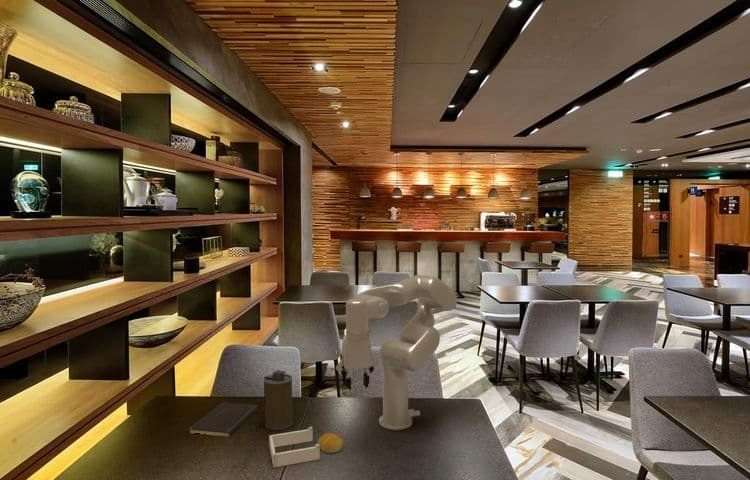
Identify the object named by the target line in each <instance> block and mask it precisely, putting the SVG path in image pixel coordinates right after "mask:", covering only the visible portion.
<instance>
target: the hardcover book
mask: <svg viewBox="0 0 750 480" xmlns="http://www.w3.org/2000/svg"><path fill="white" fill-rule="evenodd" d="M258 410H259V406H258V405H257V404H245V403H244V404H243V403H233V402H231V403H230V402H221V403H220V404H218V405H217V406H216V407H215V408H213V409H212V410H211V411H210V412H209V413H207V414H206V415H205V416H202V418H201V419H199V420H198V421H197V422H195V423H194V424H193V425H191V426H190V427H189V428H188V430H189V433H190V434H194V433H200V434H199V435H204V434H206V436H207V435H208V436H216V437H227V438H230V437H231V436H233V435H234V434H235V432H237V431H238V430H239V428H241V427H242V426H243V425H244V424H245V423H247V421H248V420H249V419H250V418H251V417H252V416H253V415H254V414H255V413H256V412H258Z"/></svg>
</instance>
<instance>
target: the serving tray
mask: <svg viewBox="0 0 750 480" xmlns="http://www.w3.org/2000/svg"><path fill="white" fill-rule="evenodd" d="M313 433H314V430H313V426H309V427H308V428H306V429H302V430H295V431H290V432H289V431H288V432H284V433H277V434H271V435H270V434H269V440H268V441H269V450H270V451H269V452H270V456H271V462H272V468H279V467H284V466H290V465H294V464H301V463H306V462H312V461H313V462H314V461H317V460H320V459H321V456H320V454H321V453H320V450H321V449H320V445H319V444H317V443H316V444H314V446H311V447H310V446H309V447H304V448H299V449H293V450H288V451H287V450H286V451H282V452H276V449H275V448H279V447H285V446H291V445H297V444H304V443H308V442H313V441H314V439H313V437H314V436H313Z"/></svg>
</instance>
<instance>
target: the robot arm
mask: <svg viewBox="0 0 750 480" xmlns="http://www.w3.org/2000/svg"><path fill="white" fill-rule="evenodd" d="M416 299H417V310H416V314H415V315H414V316H413V317H412V318H411V319H410V320H409V322H407V324H406V325H404V326H403V328H402V329H401V331H400V332H399V334H398V335H399V336H398V338H399V339H395V338H390V339H386V340H385V341H384V342H382V344H381V347H380V348H379V349H380V350H379V356H380V357H379V358H380V362H381V369H382V414H381V416H380V417H379V418H378V424H379V425H380V427H382V428H384V429H386V430H390V431H401V430H405V429H409V428H410V427H411V426H412V425H413V417H420V416H421V412H420V410H415V409H414V408H411V409H409V376H408V372H417V371H419V370H420V369H422V367H423V366H424V365H425V364H426V363H427V361H428V360H429V359H430V358H431V356H433V354H434V353H435V352H436V351H437V349H438V348H439V345H440V341H441V340H440V339H441V337H440V333H439V330H437V328H435V323H436V322H435V316H434V310H439V311H443V312H451V311H453V310H454V309H455V308H456V306H457V305H458V297H457V294H456V292H455V291H454V290H453V289H452V288H451V287H449V286H448V285H447V284H446V283H445V282H444V281H443V280H441V279H440V278H438V277H435V276H431V275H429V276H428V275H422V274H421V275H419V274H415V275H413V276H410V277H408V278H405V279H404V280H400V281H399V282H396V283H393V284H386V285H383V286H377V287H372V288H369V289H366V290H363V291H362V292H360V293H357V294H356V295H354V297H353V298H350V299H347V300H346V303H345V338H343V340H342V341H343V342H342V348H341V360H340V361H339V362H338V364H337V365H336V366H335V370H336V371H337V372H339V373H340V374H341V375H343V376H344V377H345V378H344V379H345V381H344V382H345V384H344V385H345V387H346V388H347V390H349V391H350V390H352V378H351V373H352V370H360V369H361V370H362V369H363V371H364V373H363V375H362V376H363V377H362V379H363V386H364V387H365V388H369V384H370V376H371V374H372V372H374V370H375V369H376V368H377V367H378V366H379V362H377V360H375V358H374V357H373V352H372V351H373V349H372V344H371V343H372V342H371V340H370V338H369V336H371V335H372V334H373V330H369V320H373V319H382V318H385V316H386V315H387V314H388V313H389V310H390V307H399V306H403V305H404V306H405V305H406V304H408V303H410V302H412V301H414V300H416ZM342 367H344V369H343V368H342ZM407 371H408V372H407Z"/></svg>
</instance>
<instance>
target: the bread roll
mask: <svg viewBox="0 0 750 480" xmlns="http://www.w3.org/2000/svg"><path fill="white" fill-rule="evenodd" d="M316 444H319V445H320V450H321V451H323V452H324V453H326V454H335V453H339V452H340V451H341V450H342V449H344V445H345V443H344V439H343V438H342V437H339V436H338V435H337V434H335V433H334V432H327V433H325V434H323V435H321V436H320V437H319V439H318V440H317V443H316Z"/></svg>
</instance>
